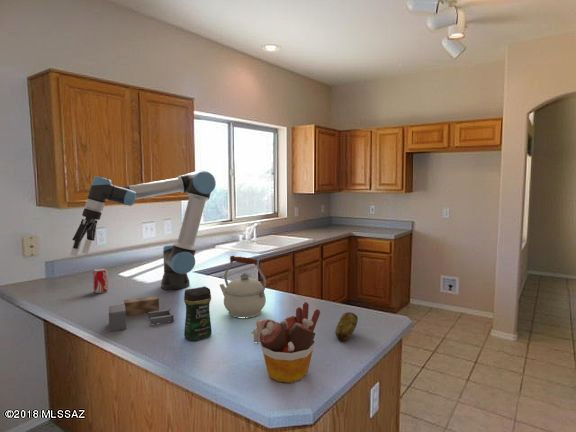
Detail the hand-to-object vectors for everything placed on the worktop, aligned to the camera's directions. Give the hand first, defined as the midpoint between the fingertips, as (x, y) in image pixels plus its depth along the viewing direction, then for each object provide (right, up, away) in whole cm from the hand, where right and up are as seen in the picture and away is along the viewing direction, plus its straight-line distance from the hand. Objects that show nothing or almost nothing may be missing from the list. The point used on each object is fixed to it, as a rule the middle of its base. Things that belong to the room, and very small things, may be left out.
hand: (79, 254), depth 171 cm
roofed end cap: (+27, -26, -21) cm, 43 cm away
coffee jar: (+62, -28, -31) cm, 74 cm away
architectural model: (+85, -28, -34) cm, 96 cm away
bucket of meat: (+95, -30, -58) cm, 116 cm away
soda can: (-3, -22, +25) cm, 34 cm away
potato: (+117, -28, -31) cm, 124 cm away
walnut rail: (+31, -25, -5) cm, 40 cm away
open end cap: (+42, -26, -14) cm, 51 cm away
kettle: (+75, -25, -5) cm, 79 cm away
